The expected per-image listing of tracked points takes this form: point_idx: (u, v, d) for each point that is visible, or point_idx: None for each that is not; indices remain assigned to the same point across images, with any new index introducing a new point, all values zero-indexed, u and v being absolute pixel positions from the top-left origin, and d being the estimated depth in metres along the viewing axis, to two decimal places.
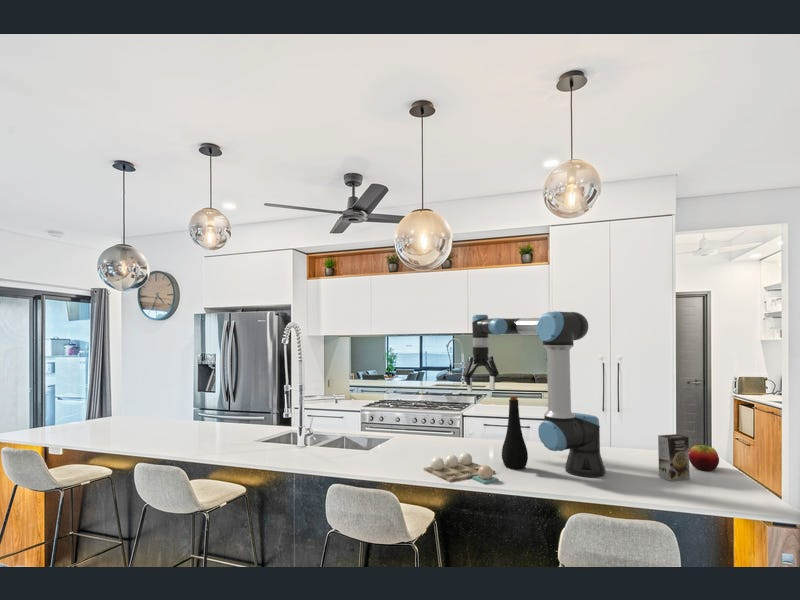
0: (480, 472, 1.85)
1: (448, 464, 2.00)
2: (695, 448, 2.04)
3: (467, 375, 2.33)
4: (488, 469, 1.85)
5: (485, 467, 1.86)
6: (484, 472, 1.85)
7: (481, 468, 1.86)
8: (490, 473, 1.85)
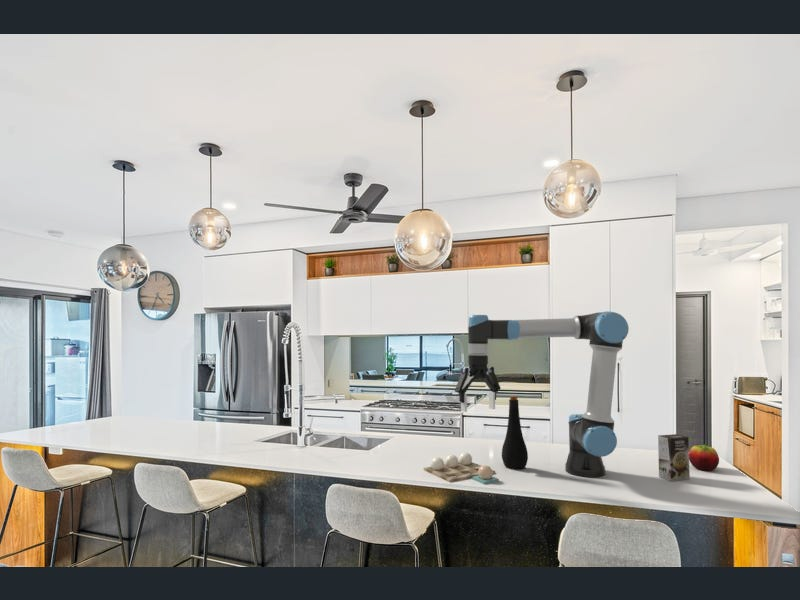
0: (480, 472, 1.85)
1: (448, 464, 2.00)
2: (695, 448, 2.04)
3: (461, 390, 1.86)
4: (488, 469, 1.85)
5: (485, 467, 1.86)
6: (484, 471, 1.85)
7: (481, 468, 1.86)
8: (490, 473, 1.85)
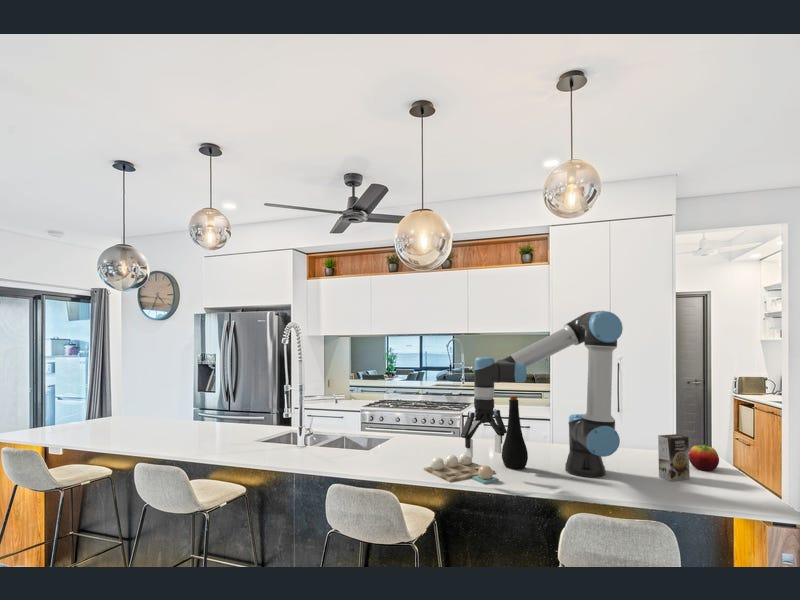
0: (480, 472, 1.85)
1: (448, 464, 2.00)
2: (695, 448, 2.04)
3: (467, 436, 1.82)
4: (488, 469, 1.85)
5: (485, 467, 1.86)
6: (484, 471, 1.85)
7: (481, 468, 1.86)
8: (490, 473, 1.85)
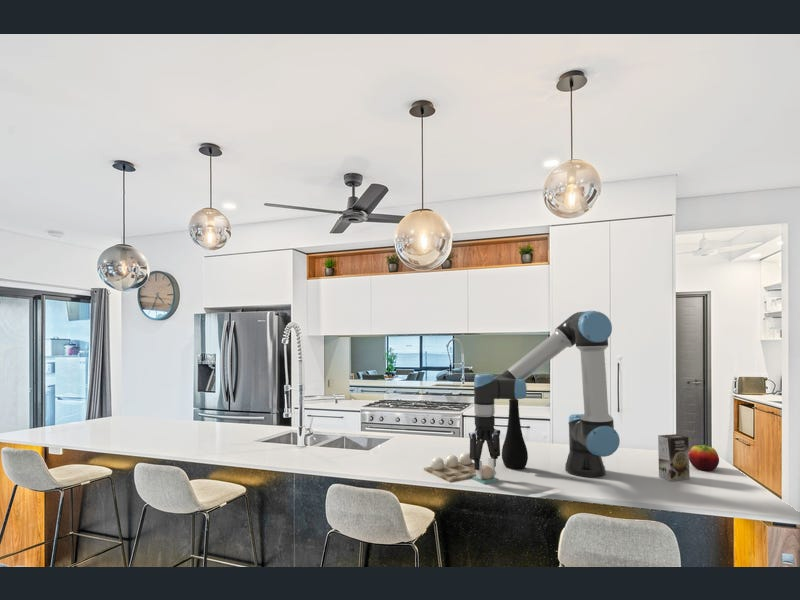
0: None
1: (448, 464, 2.00)
2: (695, 448, 2.04)
3: (475, 457, 1.84)
4: (488, 469, 1.85)
5: (485, 467, 1.86)
6: (484, 471, 1.85)
7: None
8: (490, 473, 1.85)
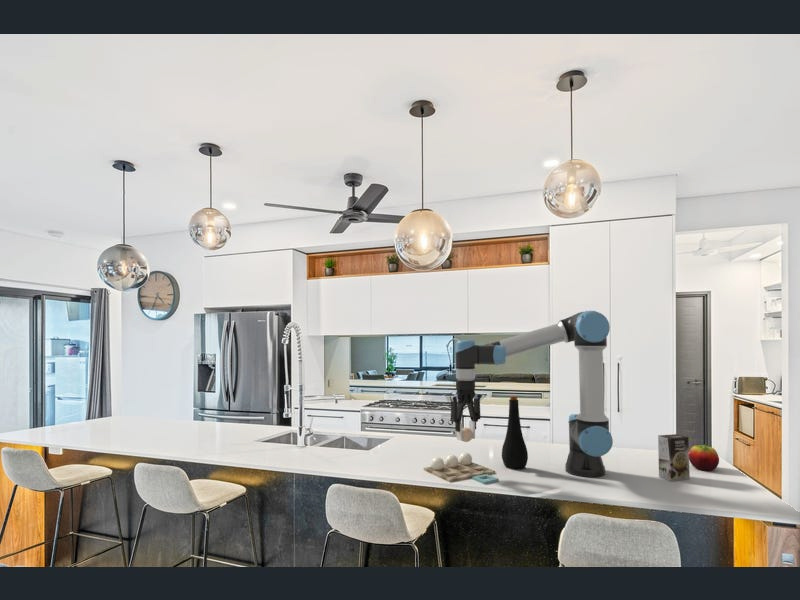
0: None
1: (448, 464, 2.00)
2: (695, 448, 2.04)
3: (456, 419, 1.91)
4: (468, 431, 1.93)
5: (465, 429, 1.93)
6: (464, 433, 1.92)
7: (462, 430, 1.93)
8: (470, 435, 1.92)
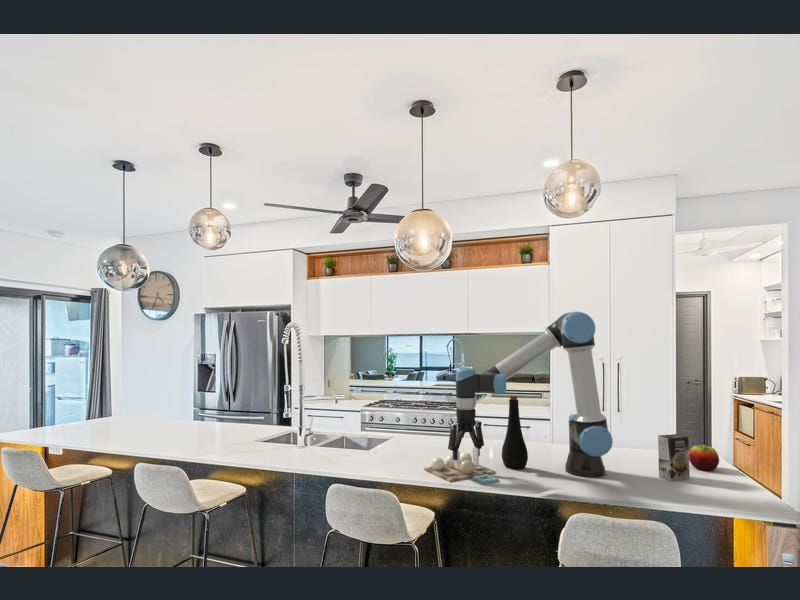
0: (462, 467, 1.92)
1: (448, 464, 2.00)
2: (695, 448, 2.04)
3: (454, 448, 1.90)
4: (469, 464, 1.92)
5: (466, 462, 1.93)
6: (465, 466, 1.91)
7: (462, 463, 1.93)
8: (471, 468, 1.92)
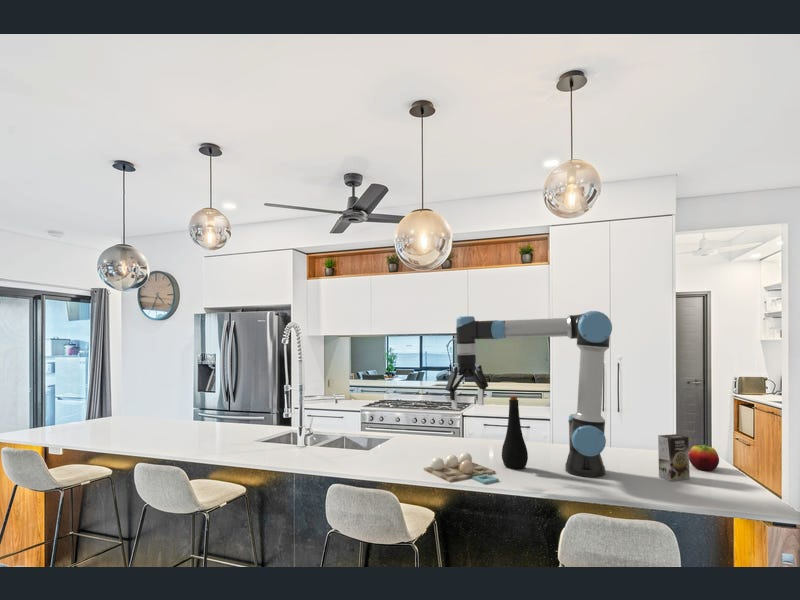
0: (462, 467, 1.92)
1: (448, 464, 2.00)
2: (695, 448, 2.04)
3: (451, 389, 1.96)
4: (469, 464, 1.92)
5: (466, 462, 1.93)
6: (465, 466, 1.91)
7: (462, 463, 1.93)
8: (471, 468, 1.92)
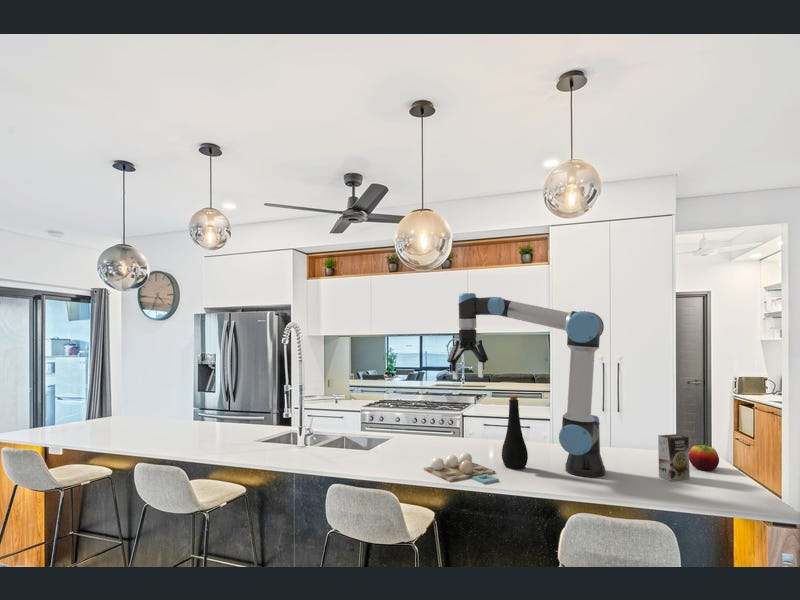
0: (462, 467, 1.92)
1: (448, 464, 2.00)
2: (695, 448, 2.04)
3: (452, 360, 2.08)
4: (469, 464, 1.92)
5: (466, 462, 1.93)
6: (465, 466, 1.91)
7: (462, 463, 1.93)
8: (471, 468, 1.92)
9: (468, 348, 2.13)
